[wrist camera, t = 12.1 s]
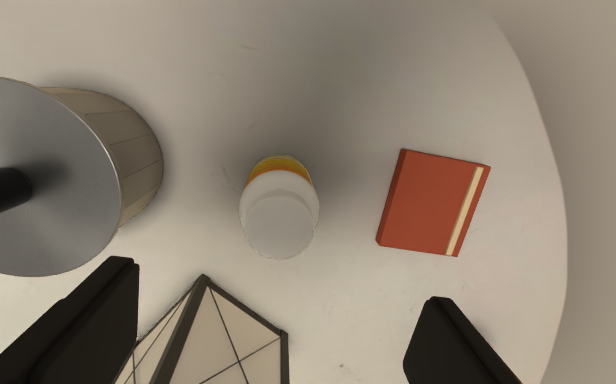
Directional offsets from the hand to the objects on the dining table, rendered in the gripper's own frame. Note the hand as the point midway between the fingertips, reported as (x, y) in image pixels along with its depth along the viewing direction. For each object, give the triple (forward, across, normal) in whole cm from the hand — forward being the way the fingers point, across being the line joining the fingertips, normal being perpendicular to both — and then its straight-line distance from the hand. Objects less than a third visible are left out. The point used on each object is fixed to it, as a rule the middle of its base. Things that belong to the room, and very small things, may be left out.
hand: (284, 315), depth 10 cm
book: (+17, -14, 0) cm, 22 cm away
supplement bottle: (+18, 0, +1) cm, 18 cm away
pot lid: (+10, +15, +1) cm, 18 cm away
